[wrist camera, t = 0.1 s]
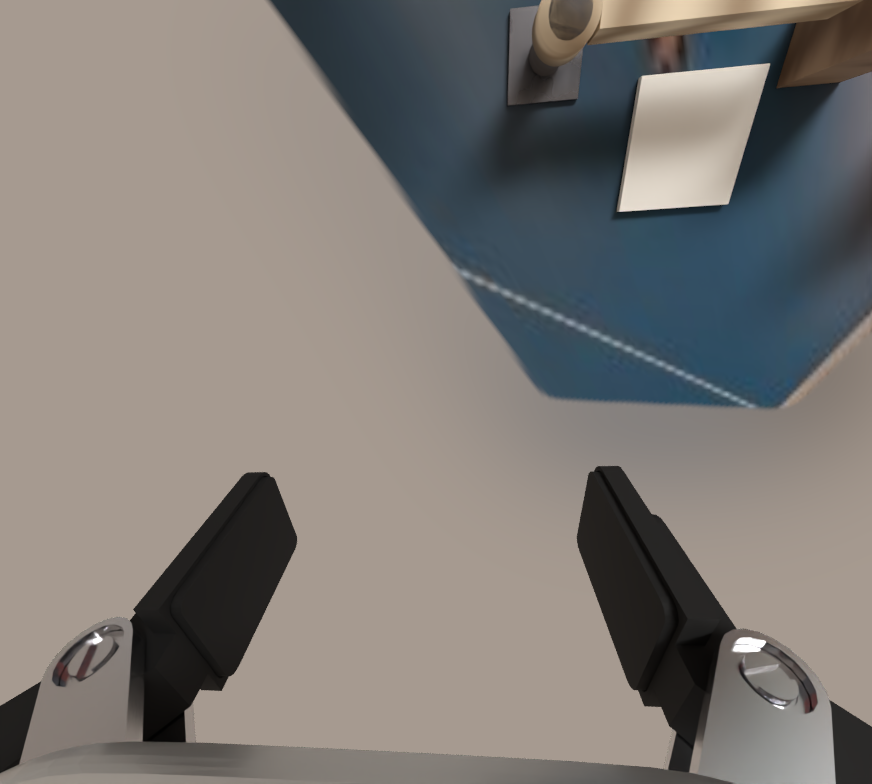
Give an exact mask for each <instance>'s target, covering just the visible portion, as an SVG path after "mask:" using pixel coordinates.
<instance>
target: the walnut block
mask: <svg viewBox="0 0 872 784" xmlns="http://www.w3.org/2000/svg"><path fill="white" fill-rule="evenodd" d="M871 71H872V0H863V1H861V2H859V3H857V4H855V5H853V6H851V7H850V8H848V9H846V10H844V11H842V12H840V13H838V14H836V15H834V16H832V17H831V18H829V19H825V20H815V21H806V22H797V23H796V26H795V30H794V33H793V36H792V39H791V42H790V45H789V49H788V52H787V55H786V58H785V61H784V64H783V68H782V71H781V74H780V77H779V80H778V84H777V87H776V88H783V87H794V86H805V85H815V84H826V83H837V82H842V81H845V80H848V79H851V78H854V77H857V76H860V75H862V74H865V73H868V72H871Z"/></svg>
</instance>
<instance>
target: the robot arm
mask: <svg viewBox="0 0 872 784" xmlns="http://www.w3.org/2000/svg"><path fill="white" fill-rule="evenodd" d="M577 543H578V548H579V551H580V553H581V556H582V559H583V562H584V564H585V567H586V570H587V572H588V575H589V578H590V581H591V583H592V586H593V589H594V592H595V594H596V597H597V600H598V602H599V605H600V608H601V610H602V613H603V616H604V619H605V621H606V624H607V627H608V629H609V632H610V635H611V638H612V640H613V643H614V646H615V648H616V651H617V654H618V656H619V659H620V662H621V665H622V668H623V670H624V673H625V675H626V678H627V681H628V683H629V685H630V687H631V688H632V689H633V690H638V691H639V693H640V696H641V698H642V701H643V704H644V706H652V707H653V706H655V707H662V710H663V712H664V715H665V717H666V719H667V722H668V724H669V726H670V727H671V728H672V729H673V730H672V734H671V738H670V743H669V747H668V751H667V755H666V759H665V764H664V768H663V769H658V768H651V767H639V766H624V765H613V764H599V763H587V762H573V761H556V760H539V759H521V758H503V757H484V756H466V755H448V754H429V753H409V752H407V753H406V752H389V751H369V750H348V749H328V748H306V747H284V746H262V745H240V744H239V745H238V744H216V743H196V737H195V724H194V710H193V701H194V699H195V697H196V695H197V693H198V691H199V690H200V689H201V690H215V691H222V689H223V687H224V685H225V683H226V681H227V679H228V677H229V676H231V675H233V674H234V673H235V671H236V670H237V668H238V666H239V664H240V662H241V660H242V658H243V656H244V653H245V652H246V650H247V648H248V646H249V644H250V641H251V639H252V637H253V635H254V633H255V631H256V629H257V627H258V625H259V623H260V621H261V619H262V617H263V615H264V612H265V610H266V608H267V606H268V604H269V602H270V600H271V598H272V596H273V594H274V592H275V590H276V587H277V585H278V583H279V581H280V579H281V577H282V575H283V573H284V571H285V569H286V567H287V565H288V562H289V561H290V558H291V556H292V554H293V552H294V550H295V548H296V544H297V536H296V533H295V530H294V528H293V526H292V523H291V520H290V518H289V515H288V512H287V510H286V507H285V505H284V502H283V499H282V497H281V494H280V491H279V489H278V486H277V484H276V481H275V479H274V478H273V477H270V475H269V474H268V473H266V472H257V473H256V472H255V473H246V474H244V475H243V476H242V477H241V478H240V480H239V481H238V482H237V483H236V485H235V486H234V487H233V488H232V489H231V491H230V492H229V493H228V494H227V496H226V497H225V498H224V499H223V500H222V502H221V503H220V504H219V505H218V507H217V508H216V509H215V510H214V511H213V513H212V514H211V515H210V516H209V518H208V519H207V520H206V521H205V522H204V524H203V525H202V526H201V527H200V529H199V530H198V531H197V532H196V533H195V535H194V536H193V537H192V538H191V540H190V541H189V542H188V543H187V544H186V546H185V547H184V548H183V549H182V551H181V552H180V553H179V554H178V555H177V557H176V558H175V559H174V560H173V562H172V563H171V564H170V565H169V567H168V568H167V569H166V570H165V571H164V573H163V574H162V575H161V576H160V577H159V579H158V580H157V581H156V582H155V584H154V585H153V586H152V587H151V589H150V590H149V591H148V592H147V593H146V595H145V596H144V597H143V598H142V599H141V601H140V602H139V603H138V605H137V606H136V607H135V608H134V609H133V610H134V611H135V612H136V614H135V615H134V616H133V617H132V619H131V620H130V621H129V620H128V619H127V618H122V617H116V618H111V619H107V620H104V621H102V622H99V623H97V624H95V625H93V626H91V627H90V628H88V629H87V630H85V631H83V632H82V633H80V634H79V635H78V636H76V637H75V638H74V639H73V640H71V641H70V642H69V643H68V644H67V645H66V646H65V647H64V648H63V649H62V650H61V651H60V652H59V653H58V654H57V655H56V656H55V658H54V659H53V660H52V662H51V663H50V664H49V666H48V667H47V669H46V671H45V674H44V676H43V678H42V681H41V682H39V683H38V684H36V685H34V686H33V687H31V688H29V689H28V690H26V691H24V692H23V693H21V694H19V695H18V696H16V697H14V698H13V699H11V700H9V701H8V702H6V703H5V704H3V705H1V706H0V784H872V727H871V726H870V725H868V724H866V723H865V722H863V721H862V720H860V719H859V718H857V717H855V716H854V715H852V714H851V713H849V712H847V711H846V710H844V709H843V708H841V707H840V706H838V705H837V704H835V703H833V702H832V701H830V700H829V698H828V694H827V692H826V690H825V688H824V687H823V685H822V683H821V681H820V680H819V678H818V677H817V675H816V674H815V673H814V672H813V671H812V670H811V668H810V667H809V666H808V665H807V664H806V663H805V662H804V661H803V660H802V659H801V658H800V657H799V656H797V655H796V654H795V653H794V652H792V650H790V649H789V648H788V647H786V646H784V645H783V644H781V643H780V642H778V641H777V640H775V639H773V638H771V637H769V636H766V635H764V634H762V633H760V632H757V631H752V630H748V629H736V627H735V626H734V624H733V623H732V621H731V620H730V619H729V617H728V616H727V614H726V613H725V611H724V610H723V608H722V607H721V605H720V604H719V602H718V601H717V600H716V598H715V596H714V595H713V594H712V592H711V591H710V589H709V588H708V586H707V585H706V583H705V582H704V580H703V579H702V577H701V576H700V574H699V573H698V571H697V570H696V568H695V567H694V565H693V564H692V563H691V562H690V560H689V558H688V557H687V555H686V554H685V552H684V551H683V549H682V548H681V546H680V545H679V543H678V542H677V540H676V539H675V537H674V536H673V535H672V533H671V532H670V530H669V529H668V527H667V526H666V524H665V523H664V522H663V521H662V519H661V518H659V517H658V516H657V515H652V514H651V513H650V511H649V510H648V508H647V506H646V505H645V504H644V502H643V500H642V499H641V498H640V496H639V494H638V493H637V491H636V490H635V488H634V487H633V485H632V484H631V482H630V480H629V479H628V477H627V476H626V474H625V473H624V471H623V470H622V469H621V467H619V466H598V467H596V469H595V471H594V472H590V473H589V475H588V480H587V486H586V491H585V497H584V501H583V508H582V512H581V517H580V523H579V528H578V534H577Z"/></svg>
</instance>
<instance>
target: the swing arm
mask: <svg viewBox="0 0 872 784" xmlns="http://www.w3.org/2000/svg"><path fill="white" fill-rule="evenodd" d="M861 1H863V0H541V3H540V5H539V8H538V10H537V13H536V15H535V18H534V22H533V27H532V45H531V49H530V54H529V60H530V65H531V67H532V69H533V71H534V72H535V73H536V74H538V75H540V76H548V75H550V74H552V73H554V72H555V71H556V70H557V69H558V67H559V66H562V65H565V64H567V63H568V62H570V61H571V60H573V59H574V58H575V57H576V56H577V54H578V53H579V52H580V51H581V49H582V48H583V47H584V45H585V44H586V43H587V41H588V43H587V45H593V44H602V43H611V42H620V41H630V40H639V39H648V38H658V37H667V36H676V35H685V34H695V33H704V32H713V31H723V30H732V29H741V28H750V27H760V26H769V25H778V24H788V23H797V22H806V21H815V20H825V19H829V18H831V17H832V16H834V15H836V14H838V13H840V12H842V11H844V10H846V9H848V8H850V7H851V6H853V5H855V4H857V3H859V2H861Z"/></svg>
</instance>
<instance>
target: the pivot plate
mask: <svg viewBox="0 0 872 784" xmlns="http://www.w3.org/2000/svg"><path fill="white" fill-rule="evenodd" d="M538 8H539V6H531V7H522V8H514V9H510V27H509V63H508V99H507V106H515V105H525V104H536V103H546V102H557V101H567V100H577V99H578V91H579V81H580V72H581V62H582V53H583V48H582V49H581V51H580V52H579V53H578V54H577V56H576V57H575V58H574V59H573V60H571V61H570V62H568V63H567V64H565V65H562V66H559V67H558V69H557V70H556V71H555V72H554V73H552V74H550V75H548V76H540V75H538V74H536V73H535V72H534V71H533V69H532V67H531V65H530V60H529V54H530V49H531V45H532V27H533V22H534V18H535V15H536V13H537V10H538Z"/></svg>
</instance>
